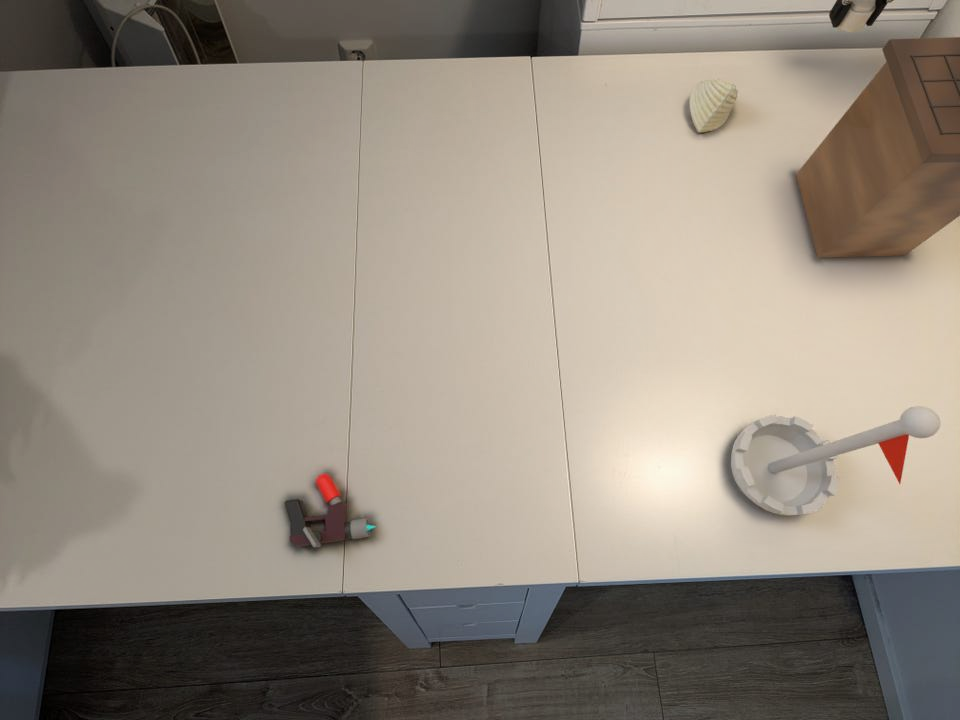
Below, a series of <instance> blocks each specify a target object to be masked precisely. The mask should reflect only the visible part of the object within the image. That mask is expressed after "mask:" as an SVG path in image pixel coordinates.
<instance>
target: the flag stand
mask: <svg viewBox="0 0 960 720" xmlns="http://www.w3.org/2000/svg"><path fill="white" fill-rule="evenodd" d="M813 427H814V424H813V423H811V422H810V421H807V420H806V419H803V418H800V417H799V416H793V417H785V416H777V414H772V415H767V416H764V417H762V418H759V419H758V420H755V421H753V422H751V423H750V424H748V425H747V426H746V427H744V428H743V429H742V430H741V432H739V434H738V435H737V437H736V439H735V440H734V442H733V446H732V450H731V456H730V467H731V468H730V469H731V474H732V477H733V479H734V481H735V483H736V485H737V487H738V488H739V489H740V491H741V492H742V493H743V495H745V496H746V497H747V498H748V499H749V500H750V501H751V502H752V503H754V504H755V505H757V506H758V507H760V508H761V509H763V510H765V511H767V512H769V513H772V514H775V515H781V516H801V515H806V514H811V513H815V512H817V511H819V510H821V509H822V506H823V505H824V504H825V503H826V501H828V499H829V498H830V497H834V496H836V494H837V492H838V489H839V487H840V482H841V477H840V476H836V467H835V461H834V460H836V459H839V456H840V455H844V454H847V453H850V452H853V451H857V450H860V449H864V448H867V447H870V446H875V445H877V444H878V446H879V448H880V450H881V452H882V453H883V455H884V457H885V459H886V461H887V463H888V465H889V467H890V468H891V471H892V472H893V475H894V476H895V479H896V480H897V482H898V484H899V485H901V483H902V477H903V471H904V466H905V460H906V455H907V449H908V444H909V439H910V437H913V438H914V439H915V438H916V439H927V438H928V439H929V438H931V437H934V435H936V434H937V433H938V432H939V430H940V428H941V418H940V416H939V414H937V412H935V411H934V409H932V408H929V407H928V406H922V405H915V406H911V407H909V408H906V409H905V410H903V412H902V413H901V414H900V417H899V419H897V420H895V421H892V422H888V423H886V424H885V423H884V424H882V425H880V426H876V427H873V428H870V429H867V430H864V431H861V432H859V433H856V434H853V435H850V436H847V437H844V438H840V439H838V440H834V441H831V440H830V439H825V440H824V439H822V437H821V436H820V435H819V434H818V433H817V432H816V431H815V430H814V429H813Z"/></svg>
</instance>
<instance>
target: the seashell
mask: <svg viewBox="0 0 960 720" xmlns="http://www.w3.org/2000/svg"><path fill="white" fill-rule="evenodd" d="M738 94H739V93H738V89H737V86H736V85H735V84H734V83H732V82H729V81H726V80H722V79H718V78H709V79H706V80H703V81H702V80H701V81H700V82H698V83H697V84H695V85H694V86H693V88H692V90H691V92H690V95H689V101H688V102H689V104H688V105H689V113H690V117H691V120H692V123H693V125H694V127H695V130H696V132H697V133H706V132H712V131H716V130H717V129H718V128H721V127H722V125H723V124H725V123H726V121H727V119H728V118H729V115H730V113H731V111H732V109H733V107H734V106H735V105H736V102H737V98H738Z"/></svg>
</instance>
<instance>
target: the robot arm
mask: <svg viewBox="0 0 960 720" xmlns="http://www.w3.org/2000/svg"><path fill="white" fill-rule="evenodd" d="M851 1H852V0H836V1H835V3H834V4H833V6H832V7H831V9H830V11H829V15H828V17H829V20H830V23H831V25H832V28H834V29H835V28H838V26H839V25H840V23H841V22H842V20H843V19H844V17H845V16H846V14H847V12H848V11H849V9H850V8H851V4H850V2H851ZM894 1H895V0H876V3H875V4H876V8H875V11H874V12H873V13H872V15H871V16H870V18H869V19H868V21H867V22H866V24H865V25H866V26H867V27H872V26H873V25H874V23H875V22H876V20H877V19H878V18H879V17H880V15H881V14H882V12H883V11H884V9H885V8H886V6H887V5H888V4H890V3H893V2H894Z"/></svg>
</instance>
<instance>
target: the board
mask: <svg viewBox="0 0 960 720" xmlns="http://www.w3.org/2000/svg"><path fill="white" fill-rule="evenodd" d="M881 50H882V53H883V56H884V59H885V61H886V62H885V63H884V64H883V65H882V66H881V68H880V69H879V70H878V71H877V73H876V74H875V75H874V76H873V78H872V79H871V80H870V82H869V83H868V84H867V85H866V86H865V88H863V90H862V91H861V92H860V94H859V95H858V96H857V98H856V99H855V100H854V102H853V103H852V104H851V105H850V106H849V108H848V109H846V111H845V112H844V114H843V115H842V116H841V118H840V119H839V120H838V121H837V122H836V124H835V125H834V126H833V128H831V130H830V131H829V133H828V134H827V135H826V136H825V137H824V139H823V140H822V141H821V143H820V144H819V145H818V146H817V147H816V149H815V150H814V151H813V153H812V154H811V155H810V156H809V158H808V159H807V160H806V162H805V163H803V165H802V166H801V168H799V170H798V171H797V172H796V174H795V176H796V181H797V184H798V188H799V192H800V195H801V199H802V204H803V207H804V211H805V215H806V219H807V222H808V226H809V230H810V234H811V238H812V242H813V245H814V249H815V253H816V257H817V258H820V259H821V258H846V257H847V258H848V257H849V258H850V257H853V258H854V257H855V258H856V257H882V256H883V257H888V256H906V255H908V254H909V253H911V252H912V251H913V250H915V249H917V247H919V246H920V245H922V244H923V243H924V242H926V241H927V240H929V239H930V238H931V237H932V236H934V235H936V234H937V233H938V232H940V231H941V230H942V229H943V228H945V227H946V226H948V225H949V224H950V223H952V222H953V221H955V220H956V219H958V218H959V217H960V36H955V37H954V36H951V37H949V36H947V37H922V38H921V37H920V38H918V37H917V38H890V39H889V40H888V41H886V43H885V45H884V46H883V47H882V49H881Z"/></svg>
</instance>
